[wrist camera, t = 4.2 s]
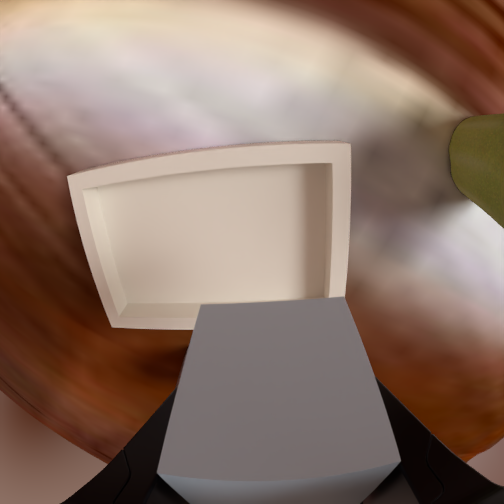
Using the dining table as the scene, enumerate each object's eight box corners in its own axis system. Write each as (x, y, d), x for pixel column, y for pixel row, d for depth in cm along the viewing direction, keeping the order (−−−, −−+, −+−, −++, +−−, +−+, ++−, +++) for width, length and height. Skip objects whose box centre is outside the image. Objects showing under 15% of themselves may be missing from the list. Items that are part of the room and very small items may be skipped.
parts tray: (334, 300, 20) (341, 322, 18) (124, 307, 21) (111, 327, 19) (338, 140, 15) (350, 143, 13) (88, 168, 16) (67, 176, 14)
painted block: (331, 385, 9) (352, 510, 5) (221, 390, 10) (205, 516, 5) (343, 296, 8) (401, 460, 3) (200, 304, 8) (156, 473, 3)
